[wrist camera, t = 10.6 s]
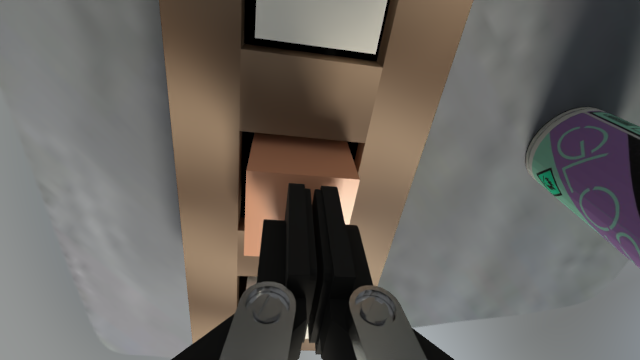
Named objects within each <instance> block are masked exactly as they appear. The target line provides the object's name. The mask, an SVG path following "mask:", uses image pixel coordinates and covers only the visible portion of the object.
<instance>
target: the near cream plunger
mask: <svg viewBox="0 0 640 360" xmlns="http://www.w3.org/2000/svg"><path fill="white" fill-rule="evenodd" d="M386 4H387V0H256V22H255V38H260V39H267V40H275V41H282V42H289V43H297V44H304V45H311V46H319V47H326V48H333V49H341V50H348V51H355V52H363V53H370V54H376V50H377V45H378V41H379V36H380V32H381V27H382V22H383V18H384V13H385V9H386Z"/></svg>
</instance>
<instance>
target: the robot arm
mask: <svg viewBox="0 0 640 360" xmlns="http://www.w3.org/2000/svg"><path fill="white" fill-rule="evenodd" d="M307 326H308V337H309V343H315V351H316V354H321V358H322V359H323V360H454V359H453V358H451V357H450V356H449V355H447V354H446V353H445V352H443V351H442V350H441V349H439V348H438V347H437V346H435V345H434V344H433V343H431V342H430V341H429V340H427V339H426V338H425V337H423V336H422V335H421V334H419V333H418V332H416V331H415V330H414V329H413V328H411V326H410V323H409V321H408V319H407V317H406V315H405V313H404V311H403V309H402V307H401V305H400V303H399V302H398V300H397V299H396V297H394V296H393V295H392V294H391V293H390V292H389V291H387V290H385V289H383V288H381V287H377V286H373V282H372V278H371V274H370V270H369V267H368V263H367V259H366V255H365V251H364V247H363V243H362V239H361V235H360V231H359V228H358V226H357V225H346V224H345V221H344V217H343V212H342V207H341V202H340V197H339V192H338V188H337V187H334V186H321V188H320V189H315V191H314V196H313V202H312V200H311V189H307V188H305V184H296V183H289V185H288V193H287V202H286V211H285V220H284V221H283V220H268V219H264V220H263V228H262V238H261V247H260V256H259V265H258V274H257V283H256V284H254V285H252V286H250V287H249V288H248V289H247V290H246V291H245V292H244V293H243V294H242V296H241V298H240V300H239V303H238V306H237V309H236V312H235V313H234V314H233V315H232V316H230V317H229V318H227V319H226V320H225V321H223V322H222V323H221V324H219V325H218V326H217V327H215V328H214V329H212V330H211V331H210V332H208V333H207V334H206V335H204V336H203V337H202V338H200V339H199V340H197V341H196V342H195V343H193V344H192V345H191V346H189V347H188V348H186V349H185V350H184V351H182V352H181V353H180V354H178V355H177V356H176V357H174V358H173V359H171V360H297V359H299V355H300V351H301V346H302V343H304V341H305V336H306V331H307Z"/></svg>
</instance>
